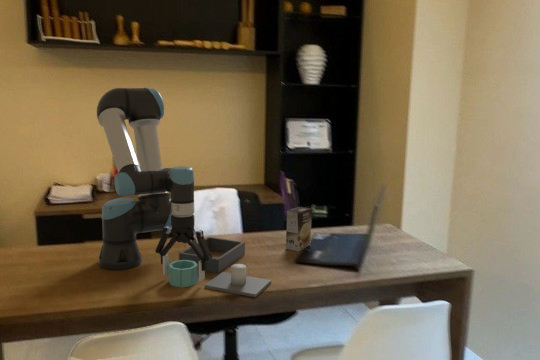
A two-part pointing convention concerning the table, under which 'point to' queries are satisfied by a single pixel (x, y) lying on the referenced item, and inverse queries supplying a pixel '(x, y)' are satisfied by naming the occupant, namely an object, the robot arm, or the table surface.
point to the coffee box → (298, 228)
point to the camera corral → (223, 245)
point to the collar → (183, 273)
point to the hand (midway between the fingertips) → (183, 276)
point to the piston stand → (238, 282)
